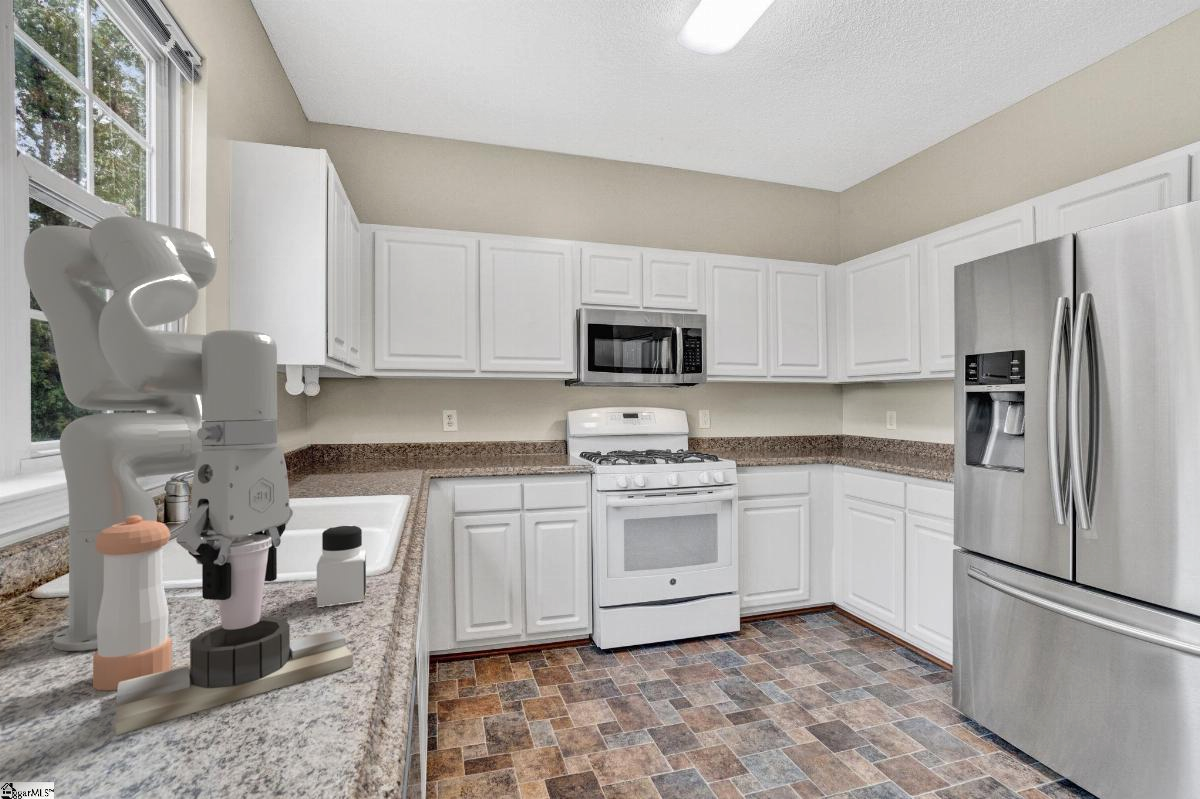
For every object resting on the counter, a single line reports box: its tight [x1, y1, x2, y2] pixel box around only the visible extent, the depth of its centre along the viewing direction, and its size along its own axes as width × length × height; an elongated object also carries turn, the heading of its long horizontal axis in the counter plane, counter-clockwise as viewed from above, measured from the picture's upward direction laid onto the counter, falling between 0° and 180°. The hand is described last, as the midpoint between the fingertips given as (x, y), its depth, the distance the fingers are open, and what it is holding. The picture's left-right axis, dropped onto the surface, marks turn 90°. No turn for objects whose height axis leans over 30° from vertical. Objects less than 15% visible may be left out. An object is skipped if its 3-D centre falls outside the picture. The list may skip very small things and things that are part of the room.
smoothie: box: [213, 534, 272, 629], centre depth 65 cm, size 6×6×14 cm
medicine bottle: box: [316, 524, 367, 607], centre depth 93 cm, size 7×7×12 cm
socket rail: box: [115, 617, 354, 736], centre depth 65 cm, size 22×10×6 cm, turn 130°
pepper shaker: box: [92, 515, 173, 692], centre depth 67 cm, size 7×7×19 cm
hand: (241, 587), depth 65 cm, fingers closed on smoothie, 6 cm apart
